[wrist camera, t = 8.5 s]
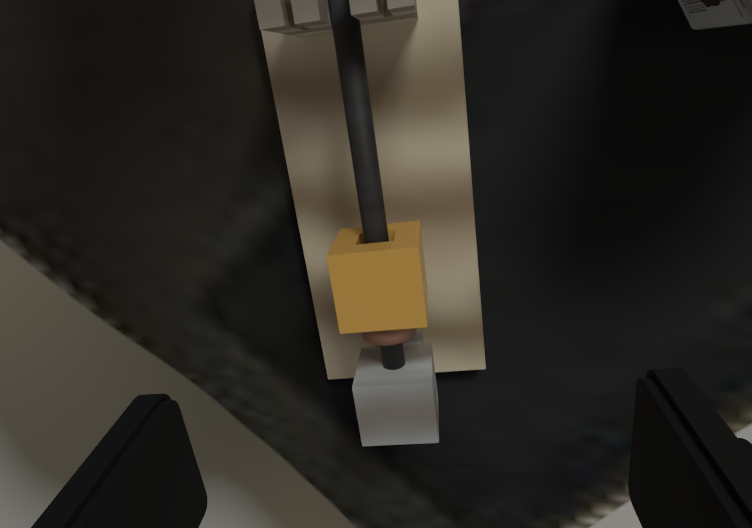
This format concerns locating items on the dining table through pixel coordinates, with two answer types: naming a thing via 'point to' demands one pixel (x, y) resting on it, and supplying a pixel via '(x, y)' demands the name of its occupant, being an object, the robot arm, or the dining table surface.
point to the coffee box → (717, 13)
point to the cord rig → (381, 185)
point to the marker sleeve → (379, 280)
